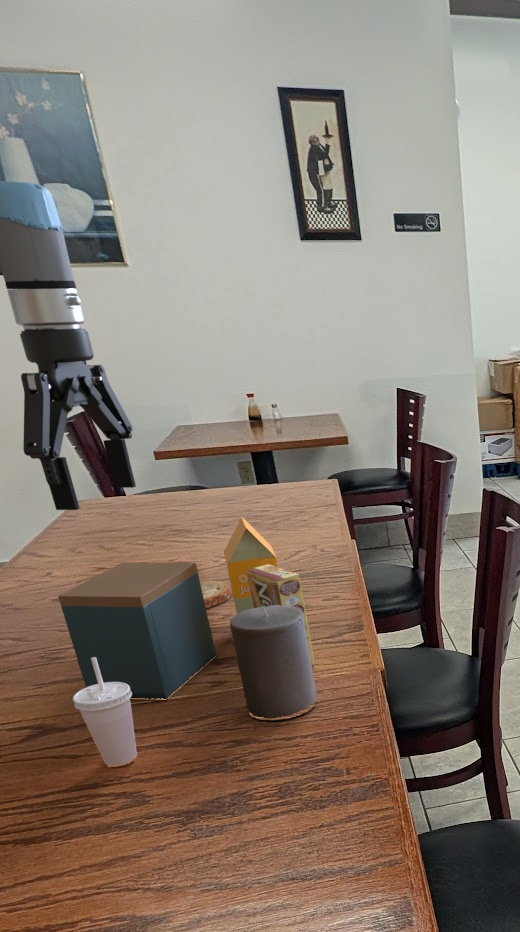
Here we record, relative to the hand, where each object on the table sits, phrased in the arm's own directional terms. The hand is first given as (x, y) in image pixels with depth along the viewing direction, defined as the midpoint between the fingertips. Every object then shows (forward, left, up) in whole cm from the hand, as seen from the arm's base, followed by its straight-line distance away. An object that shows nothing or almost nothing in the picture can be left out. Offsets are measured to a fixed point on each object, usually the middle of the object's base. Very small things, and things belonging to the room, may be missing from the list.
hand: (98, 497), depth 112 cm
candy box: (+18, +9, -29) cm, 35 cm away
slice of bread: (-15, +35, -29) cm, 48 cm away
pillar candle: (+23, -6, -29) cm, 38 cm away
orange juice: (+9, +21, -29) cm, 37 cm away
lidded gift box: (-1, +3, -29) cm, 29 cm away
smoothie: (+8, -22, -29) cm, 37 cm away
